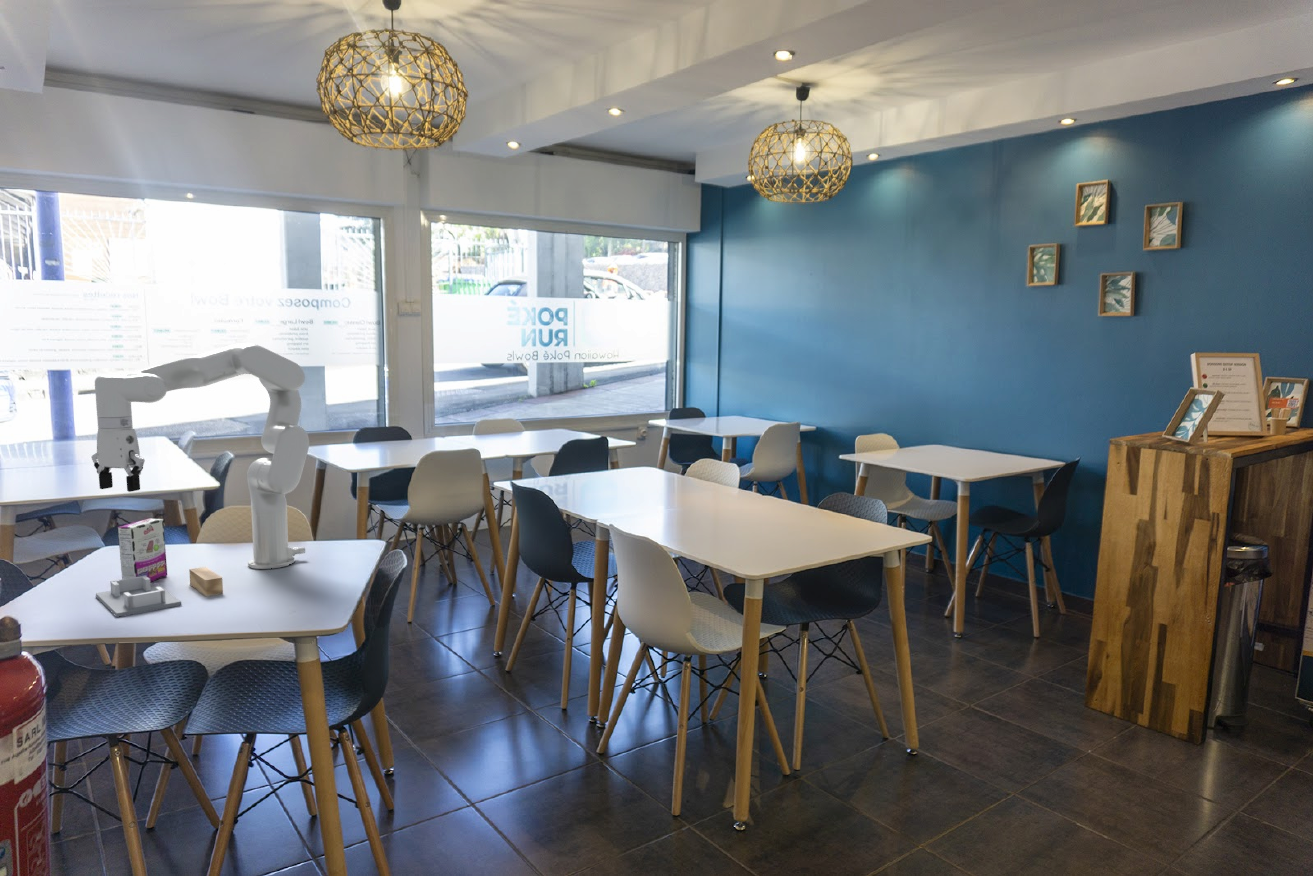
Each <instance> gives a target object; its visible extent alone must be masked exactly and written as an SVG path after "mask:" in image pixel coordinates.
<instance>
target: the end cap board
mask: <svg viewBox="0 0 1313 876" xmlns="http://www.w3.org/2000/svg"><path fill="white" fill-rule="evenodd" d="M95 597H96V599H97V600H99V601H100V603H102V604H103V606H105V607H106V608H107V609H108V610H109V609H110V610H109V612H111V611H112V612H111V613H112V614H113V615H114V614H115V615H116V616H115V615H114V616H115V617H116V618H120V617H119V616H122V617H126V616H125V615H127V616H131V615H130V614H133V615H138V614H143V613H148V612H153V611H157V610H158V609H159V610H164V609H170V608H175V607H179V606H182V600H180V599H179V598H177V597H176V596H175V595H173V594H172V593H171V592H170V591H168V590H167V589H166V588H165V587H163V586H161V584H159V583H158V582H154V583H151V582H150V579H149V578H148V577H147V576H140V577H134V578H127V579H122V578H120V579H118V580H117V579H116V580H115V579H114V580H111V581H110V590H106V591H101V592H96V593H95Z"/></svg>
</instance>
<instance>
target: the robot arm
mask: <svg viewBox="0 0 1313 876" xmlns="http://www.w3.org/2000/svg"><path fill="white" fill-rule="evenodd" d="M305 374H306V373H305V371H304V370H303V368H302V367H301V365H299V364H298V363H297V362H294V361H293V360H290V359H288V358H286V357H284V356H283V355H280V354H278V353H276V352H273V351H271V350H269V348H266V347H264V346H261V345H259V344H255V343H236V344H231V345H228V346H224V347H221V348H218V349H214V350H211V351H208V352H205V353H200V354H198V355H197V354H196V355H193V356H190V357H186V358H182V359H179V360H174V361H171V362H167V363H163V364H158V365H155V366H151V367H147V368H144V369H141V370H137V371H135V372H134V371H133V372H131V373H129V374H128V375H121V374H113V375H112V374H111V375H110V374H105V375H99V376H97V377H96V378H95V380H94V392H95V404H96V407H95V408H96V418H97V433H96V434H97V437H96V452H95V453H94V454H93V455H91V460H92V462H93V467H94V468H95V469H96V473H97V474H98V480H99V481H98V483H99V489H100V490H105V489H111V488H113V483H114V482H113V475H112V474H113V472H112V471H111V469H123V470H124V471H125V473H126V474H127V475H126V477H125V480H126V490H127V492H135V491H136V492H137V491H140V490H141V481H140V475H142V471H143V469H144V464H145V462H146V461H145V458H144V457H142V456H141V453H140V446H139V441H138V436H137V435H138V434H137V433H136V432H137V431H136V430H135V428H134V427H133V414H132V413H133V412H132V411H133V410H132V403H146V404H147V403H148V404H150V403H151V404H152V403H157V402H159V401H161V400H162V399H163V398H165V396H166V394H167V392H171V391H175V390H181V389H193V388H194V389H196V388H201V387H207V386H210V385H213V384H216V383H219V382H222V381H225V380H228V379H231V378H235V377H238V376H241V375H252V376H254V377H256V378H258V380H259V382H260V384H261V385H262V386H263V388H264V389H266V391H267V393H268V396H269V409H268V413H267V416H266V421H265V424H264V427H263V429H262V430H263V431H262V435H261V438H260V439H261V440H260V441H261V442H260V443H261V446H262V448H263V450H265V451H266V452H268V453H270V454H272V458H271V457H262V458H261V457H260V458H258V459H255V460H254V461H253V462H251V464H250V465H249V467H248V468H247V472H246V481H247V487H248V491H249V497H250V506H251V507H250V510H251V511H250V512H251V527H252V531H251V532H252V551H253V558H251V559H250V560H248V561H247V566H248V567H249V568H251V569H257V570H272V569H278V568H283V567H287V566H290V565H289V564H291V565H293V564H292V563H295V560H296V559H295V557H294V556H296V555H302V554H306V548H305V546H300V547H298V546H295V547H291V546H289V531H288V530H289V529H288V503H287V498H286V495H287V494H290V493H292V492H293V491H294V490H295V489H296V488H297V487H298V485H299V484H300V481H301V478H302V474H303V471H304V467H305V464H306V460H307V456H308V451H309V448H310V438H309V435H308V432H307V431H306V430H305V429H304V427H302V426H300V425H299V421H300V417H301V416H300V415H301V412H302V411H301V409H302V398H301V393H300V392H299V389H300V388H301V387H302V386H303V385H304V383H305V380H306V375H305ZM271 568H272V569H271Z"/></svg>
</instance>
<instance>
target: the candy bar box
mask: <svg viewBox="0 0 1313 876" xmlns="http://www.w3.org/2000/svg"><path fill="white" fill-rule="evenodd" d="M164 526H165V525H164V518H147V519H142V520H139V521H135V522H131V523H129V524H125V525H121V526H118V527H117V533H118V535H117V537H118V545H119V547H118V548H119V554H120V555H119V556H120V559H119V560H120V568H121V569H120V570H121V579H127V578H134V577H140V576H147V577H148V578H149V579H150V583H151V582H154V581H157V580H160V579H163V578H165V577H167V576H168V566H167V565H168V564H167V554H166V553H167V552H166V541H165V540H166V539H165V529H164V528H165V527H164Z"/></svg>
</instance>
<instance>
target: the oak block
mask: <svg viewBox="0 0 1313 876" xmlns="http://www.w3.org/2000/svg"><path fill="white" fill-rule="evenodd" d="M189 585H190V586H191V587H192V588H194V589H196V590H197V591H198V592H200V594H203V595H204V596H206V597H209V596H210V595H211V596H216V595H220V594H223V593H224V589H223V577H222V576H220V575H219V574H218V573H216V572H215V571H212V570H211V569H210V568H208V567H206V566H203V567H202V566H201V567H195V568H190V569H189ZM211 596H210V597H211Z"/></svg>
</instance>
